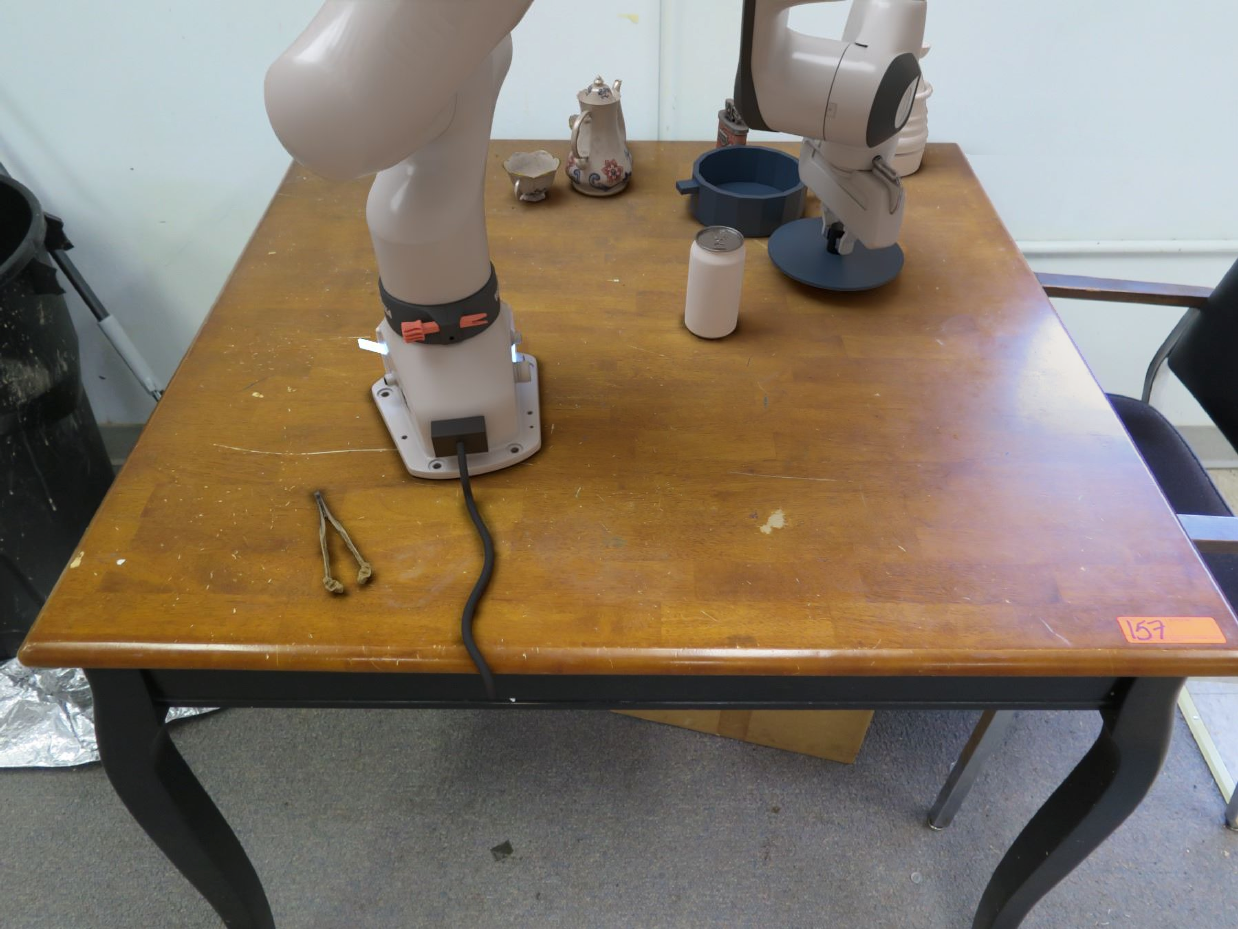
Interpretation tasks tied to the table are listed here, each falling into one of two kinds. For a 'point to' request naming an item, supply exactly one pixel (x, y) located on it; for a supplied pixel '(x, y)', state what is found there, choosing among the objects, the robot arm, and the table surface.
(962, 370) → the table surface
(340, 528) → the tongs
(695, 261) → the can
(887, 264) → the lid
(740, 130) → the lighter
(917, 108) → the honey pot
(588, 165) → the chinaware
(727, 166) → the pot
